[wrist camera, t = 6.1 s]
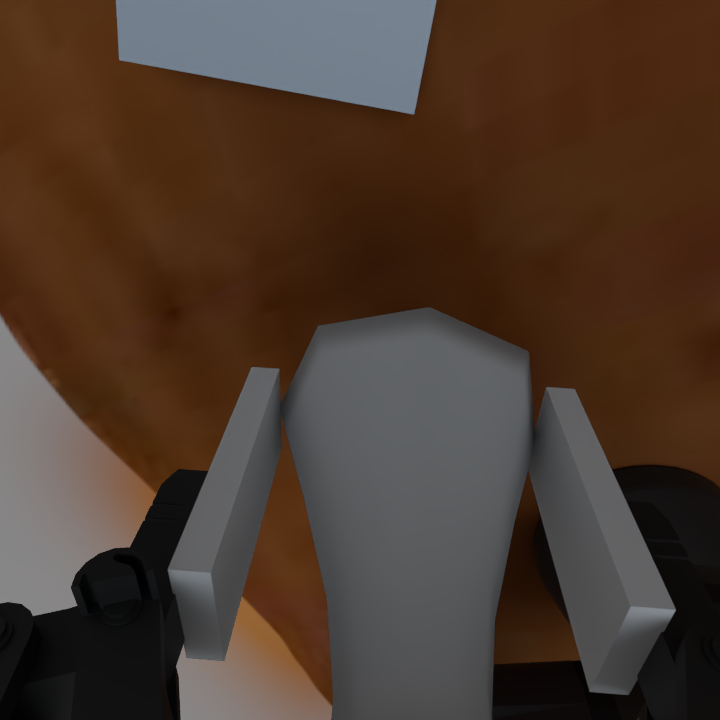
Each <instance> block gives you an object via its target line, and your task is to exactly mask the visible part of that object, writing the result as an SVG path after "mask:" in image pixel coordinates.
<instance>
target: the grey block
mask: <svg viewBox="0 0 720 720" xmlns="http://www.w3.org/2000/svg"><path fill="white" fill-rule="evenodd" d="M435 5H436V0H116V9H117V27H118V46H119V60H122V61H128V62H133V63H139V64H144V65H149V66H155V67H160V68H166V69H171V70H176V71H182V72H187V73H193V74H198V75H203V76H209V77H214V78H220V79H225V80H230V81H236V82H241V83H247V84H252V85H258V86H263V87H268V88H274V89H279V90H285V91H290V92H295V93H301V94H306V95H312V96H317V97H322V98H328V99H333V100H339V101H344V102H349V103H355V104H360V105H366V106H371V107H376V108H382V109H387V110H393V111H398V112H404V113H409V114H414V113H415V108H416V103H417V98H418V92H419V87H420V82H421V77H422V72H423V67H424V62H425V57H426V52H427V46H428V41H429V36H430V31H431V26H432V21H433V16H434V11H435Z"/></svg>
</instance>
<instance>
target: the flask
mask: <svg viewBox="0 0 720 720" xmlns="http://www.w3.org/2000/svg"><path fill="white" fill-rule="evenodd" d="M280 409H281V413H282V418H283V422H284V426H285V431H286V434H287V438H288V441H289V445H290V449H291V452H292V456H293V460H294V463H295V467H296V470H297V474H298V478H299V481H300V485H301V489H302V492H303V496H304V500H305V505H306V509H307V514H308V518H309V522H310V527H311V531H312V536H313V540H314V545H315V549H316V553H317V558H318V562H319V567H320V571H321V576H322V580H323V584H324V589H325V593H326V598H327V609H328V624H329V639H330V654H331V669H332V684H333V707H332V719H331V720H492V698H493V667H494V635H495V617H496V612H497V607H498V602H499V597H500V592H501V587H502V582H503V577H504V572H505V568H506V563H507V558H508V553H509V548H510V543H511V538H512V533H513V528H514V523H515V519H516V515H517V511H518V507H519V503H520V499H521V495H522V492H523V488H524V484H525V480H526V476H527V472H528V468H529V464H530V460H531V456H532V451H533V446H534V441H535V427H534V414H533V401H532V388H531V375H530V362H529V351H527V350H524V349H522V348H520V347H518V346H515V345H513V344H511V343H509V342H507V341H504V340H502V339H500V338H498V337H495V336H493V335H491V334H489V333H486V332H484V331H482V330H480V329H477V328H475V327H473V326H471V325H468V324H466V323H464V322H462V321H460V320H457V319H455V318H453V317H451V316H448V315H446V314H444V313H442V312H439V311H437V310H435V309H433V308H430V307H427V308H421V309H415V310H409V311H403V312H397V313H391V314H385V315H379V316H373V317H368V318H362V319H356V320H350V321H344V322H338V323H332V324H326V325H320V326H318V327H317V329H316V331H315V333H314V336H313V338H312V340H311V342H310V344H309V346H308V348H307V350H306V352H305V355H304V357H303V359H302V361H301V363H300V365H299V367H298V369H297V371H296V374H295V376H294V378H293V380H292V382H291V384H290V386H289V388H288V390H287V393H286V395H285V397H284V399H283V401H282V403H281V405H280Z"/></svg>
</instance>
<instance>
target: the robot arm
mask: <svg viewBox="0 0 720 720" xmlns="http://www.w3.org/2000/svg"><path fill="white" fill-rule="evenodd" d="M280 405H281V399H280V375H279V369H274V368H259V367H252V368H251V370H250V372H249V375H248V377H247V380H246V382H245V384H244V387H243V389H242V392H241V394H240V396H239V399H238V401H237V404H236V406H235V408H234V411H233V413H232V416H231V418H230V421H229V423H228V425H227V428H226V430H225V433H224V435H223V437H222V440H221V442H220V445H219V447H218V449H217V452H216V454H215V457H214V459H213V461H212V464H211V466H210V469H209V471H198V470H184V469H178V470H177V471H176V472H175V473H174V474H172V475H171V476H170V477H169V478H168V479H167V480H166V481H165V482H164V483H163V484H162V485H161V487H160V489H159V491H158V493H157V495H156V497H155V499H154V501H153V505H152V506H151V507H150V509H149V511H148V513H147V515H146V517H145V521H143V523H142V525H141V527H140V529H139V531H138V532H137V534H136V537H135V538H134V540H133V542H132V544H131V546H130V548H114V549H111V550H109V551H106V552H103V553H100V554H98V555H97V556H95V557H94V558H92V559H91V560H89V561H88V562H86V563H85V564H84V565H83V567H82V568H81V569H80V570H79V571H78V572H77V574H76V575H75V578H74V580H73V583H72V586H71V589H72V592H73V595H74V597H75V600H76V603H77V605H78V606H75V607H72V608H69V609H65V610H60V611H55V612H51V613H46V614H42V615H37V616H32V614H31V611H30V610H28V609H27V608H26V607H24V606H23V605H22V604H17V603H10V602H7V603H1V604H0V720H180V699H179V677H178V673H177V669H176V664H177V661H178V658H179V655H180V653H181V650H182V647H183V644H184V648H185V652H186V657H187V658H193V659H206V660H217V661H224V660H225V656H226V653H227V649H228V645H229V641H230V638H231V634H232V630H233V627H234V623H235V619H236V616H237V611H238V608H239V605H240V601H241V597H242V593H243V590H244V586H245V582H246V579H247V575H248V571H249V567H250V564H251V560H252V556H253V553H254V549H255V545H256V542H257V538H258V534H259V530H260V527H261V523H262V519H263V516H264V512H265V508H266V505H267V501H268V497H269V493H270V490H271V486H272V482H273V479H274V475H275V471H276V467H277V464H278V460H279V456H280V453H281V449H282V423H281V409H280ZM528 471H529V475H530V479H531V482H532V486H533V489H534V493H535V497H536V500H537V504H538V508H539V511H540V515H541V520H540V522H539V524H538V526H537V529H536V532H535V536H534V553H535V558H536V562H537V566H538V570H539V574H540V577H541V580H542V582H543V584H544V586H545V588H546V590H547V591H548V593H549V594H550V596H551V597H552V598H553V600H554V601H555V603H556V605H557V606H558V608H559V609H560V611H561V612H562V614H563V615H564V617H565V618H566V619H567V621H568V622H569V624H570V625H571V627H572V630H573V634H574V637H575V641H576V645H577V648H578V652H579V655H580V659H581V660H580V661H552V662H532V663H513V664H494V667H493V698H492V720H720V488H719V487H718V486H717V485H715V484H714V483H712V482H711V481H709V480H708V479H706V478H704V477H702V476H700V475H697V474H695V473H692V472H688V471H685V470H681V469H676V468H670V467H657V466H645V467H634V468H626V469H621V470H616V471H612V469H611V467H610V465H609V463H608V461H607V458H606V456H605V454H604V452H603V450H602V448H601V445H600V443H599V441H598V439H597V437H596V434H595V432H594V430H593V428H592V426H591V424H590V421H589V419H588V417H587V415H586V413H585V411H584V408H583V406H582V404H581V402H580V400H579V397H578V395H577V393H576V391H575V389H567V388H553V387H546V390H545V394H544V397H543V401H542V405H541V409H540V413H539V416H538V420H537V424H536V428H535V441H534V446H533V451H532V456H531V460H530V464H529V468H528Z"/></svg>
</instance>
